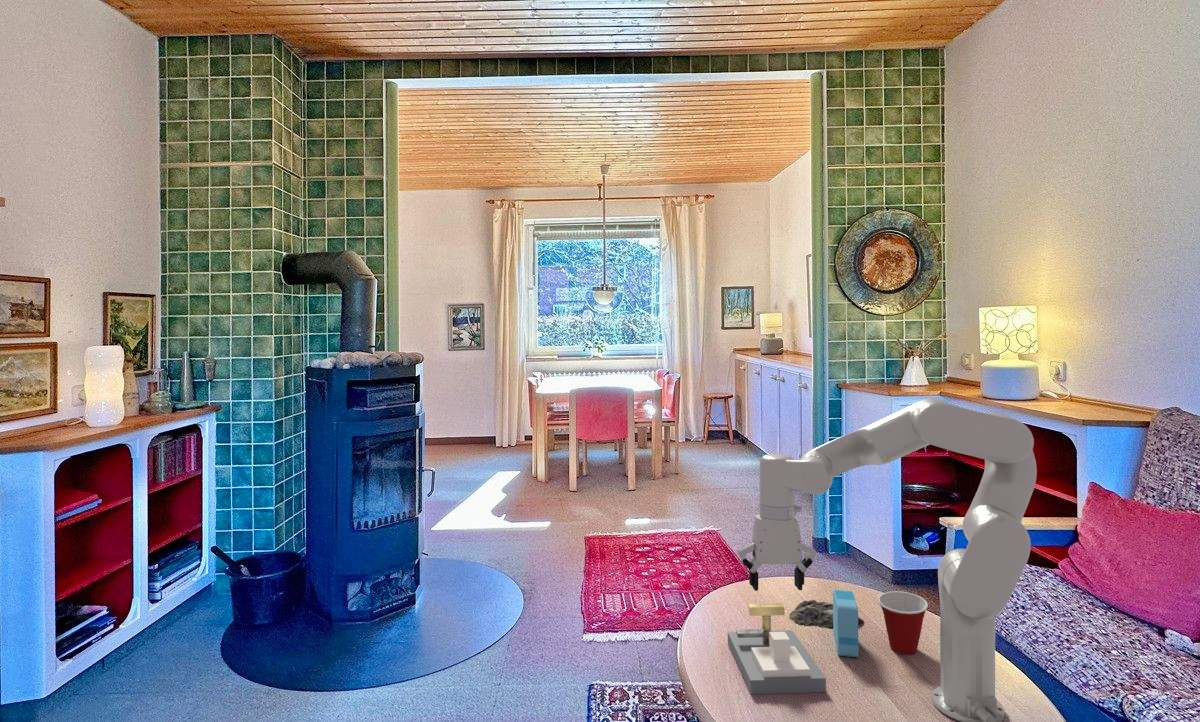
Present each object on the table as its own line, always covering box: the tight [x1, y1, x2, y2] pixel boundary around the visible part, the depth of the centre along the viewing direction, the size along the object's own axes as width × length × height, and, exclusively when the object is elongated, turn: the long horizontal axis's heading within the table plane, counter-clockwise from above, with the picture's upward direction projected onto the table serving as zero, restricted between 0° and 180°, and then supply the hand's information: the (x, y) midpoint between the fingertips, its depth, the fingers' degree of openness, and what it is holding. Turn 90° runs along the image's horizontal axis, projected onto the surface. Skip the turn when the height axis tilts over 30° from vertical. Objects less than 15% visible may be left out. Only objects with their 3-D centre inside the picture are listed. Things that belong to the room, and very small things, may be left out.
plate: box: [727, 629, 827, 695], centre depth 143 cm, size 22×16×3 cm
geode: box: [788, 599, 864, 629], centre depth 168 cm, size 19×4×15 cm
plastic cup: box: [877, 590, 929, 656], centre depth 149 cm, size 11×11×12 cm
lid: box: [751, 632, 810, 677], centre depth 138 cm, size 10×10×6 cm
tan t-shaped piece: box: [735, 602, 786, 644], centre depth 148 cm, size 11×2×9 cm, turn 89°
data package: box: [832, 589, 860, 658], centre depth 151 cm, size 12×4×12 cm, turn 165°
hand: (776, 588), depth 137 cm, fingers open, 9 cm apart
